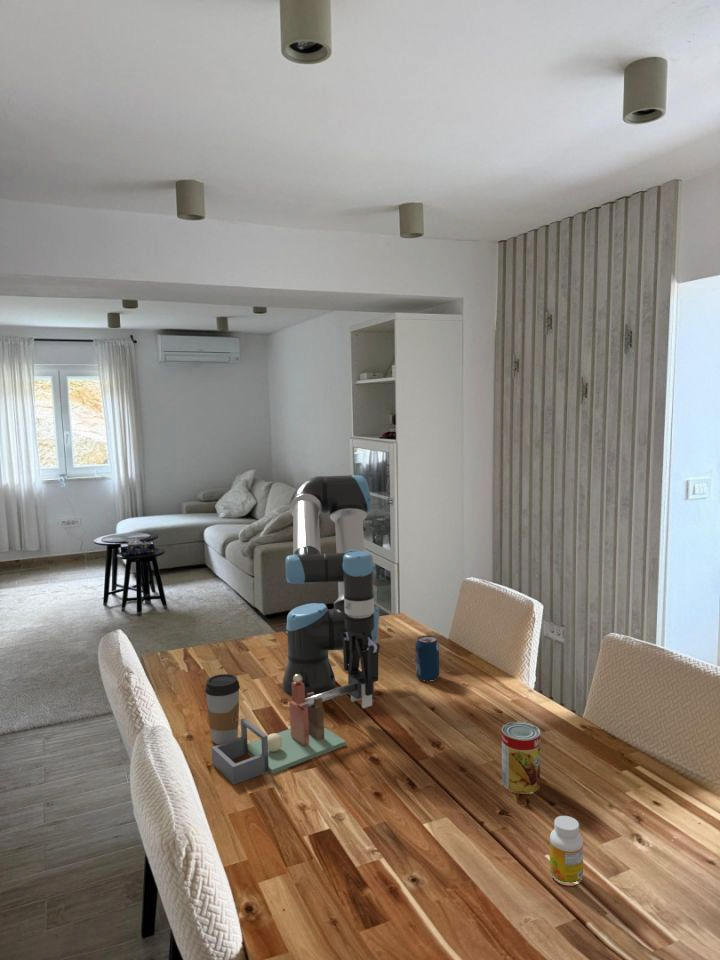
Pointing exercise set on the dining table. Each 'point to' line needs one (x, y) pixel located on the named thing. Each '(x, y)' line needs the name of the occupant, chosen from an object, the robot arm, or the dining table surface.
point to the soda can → (427, 658)
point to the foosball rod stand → (300, 703)
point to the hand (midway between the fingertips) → (361, 702)
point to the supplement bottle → (566, 850)
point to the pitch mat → (296, 749)
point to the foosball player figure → (316, 718)
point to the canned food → (521, 757)
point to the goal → (238, 748)
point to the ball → (274, 742)
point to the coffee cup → (223, 707)
